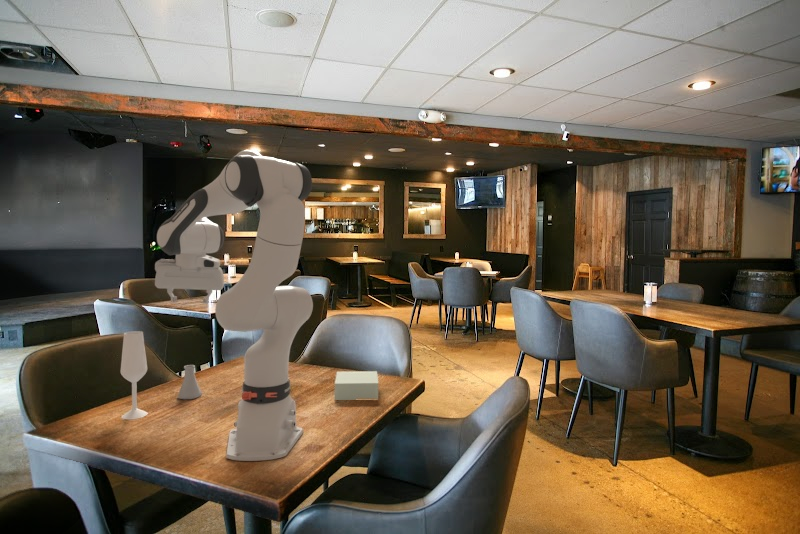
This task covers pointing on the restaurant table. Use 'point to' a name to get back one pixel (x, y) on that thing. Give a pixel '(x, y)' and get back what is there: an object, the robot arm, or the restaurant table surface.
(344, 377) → the sage block
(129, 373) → the champagne flute
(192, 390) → the flask
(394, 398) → the restaurant table surface
